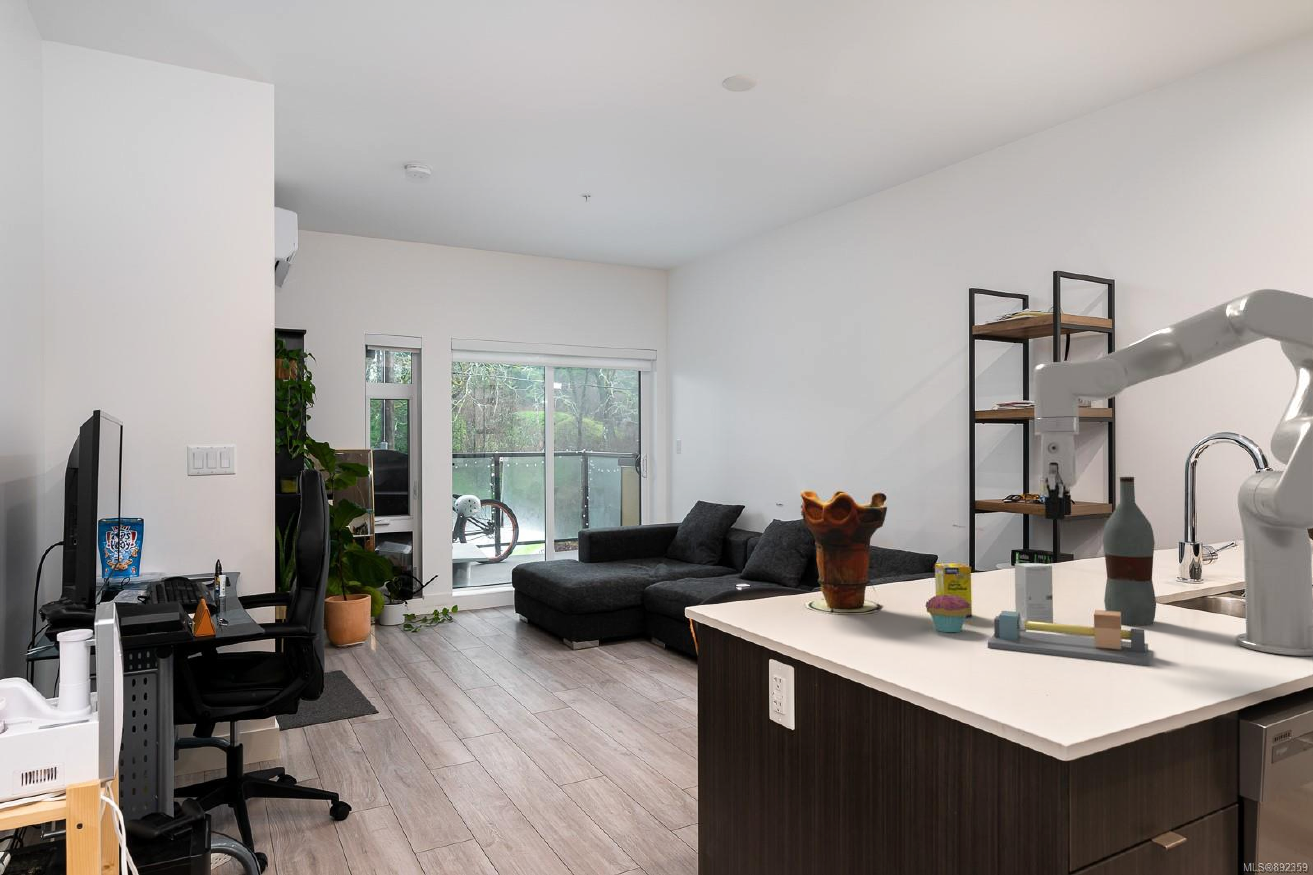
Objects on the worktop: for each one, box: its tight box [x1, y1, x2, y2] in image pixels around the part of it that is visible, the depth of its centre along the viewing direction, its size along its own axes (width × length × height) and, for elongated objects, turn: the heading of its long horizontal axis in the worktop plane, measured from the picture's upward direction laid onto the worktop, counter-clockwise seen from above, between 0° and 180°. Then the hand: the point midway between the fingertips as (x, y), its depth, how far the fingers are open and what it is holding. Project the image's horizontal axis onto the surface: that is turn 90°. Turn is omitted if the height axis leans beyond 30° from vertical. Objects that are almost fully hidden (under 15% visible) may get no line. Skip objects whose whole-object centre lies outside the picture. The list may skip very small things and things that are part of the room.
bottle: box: [1102, 476, 1157, 627], centre depth 163 cm, size 9×9×30 cm
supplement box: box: [934, 562, 973, 618], centre depth 172 cm, size 6×6×11 cm
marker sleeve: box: [1093, 609, 1123, 649], centre depth 139 cm, size 4×5×6 cm
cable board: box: [987, 610, 1150, 667], centre depth 142 cm, size 25×12×5 cm, turn 58°
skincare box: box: [1014, 562, 1054, 623], centre depth 163 cm, size 6×4×12 cm
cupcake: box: [925, 570, 971, 633], centre depth 158 cm, size 9×8×12 cm
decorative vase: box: [800, 490, 888, 615], centre depth 183 cm, size 21×23×28 cm
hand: (1058, 517), depth 150 cm, fingers open, 9 cm apart
